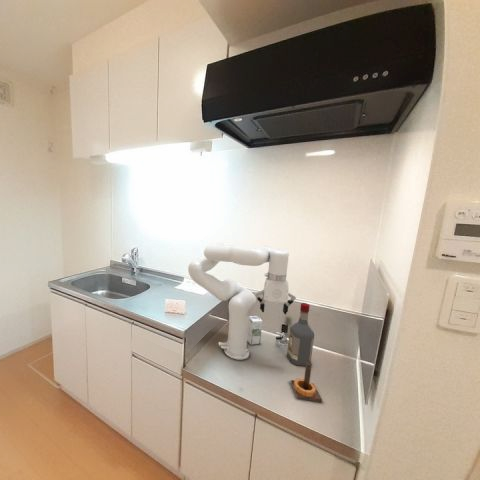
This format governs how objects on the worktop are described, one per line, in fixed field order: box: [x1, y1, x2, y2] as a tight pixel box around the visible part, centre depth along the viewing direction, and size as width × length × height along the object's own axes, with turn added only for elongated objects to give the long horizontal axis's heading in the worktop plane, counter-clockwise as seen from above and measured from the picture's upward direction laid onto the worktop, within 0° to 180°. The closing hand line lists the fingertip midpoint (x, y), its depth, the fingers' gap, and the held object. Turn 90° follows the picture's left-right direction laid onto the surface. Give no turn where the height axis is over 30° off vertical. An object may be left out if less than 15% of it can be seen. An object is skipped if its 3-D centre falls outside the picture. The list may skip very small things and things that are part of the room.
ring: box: [294, 378, 317, 397], centre depth 106 cm, size 8×8×2 cm
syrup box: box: [247, 315, 263, 346], centre depth 141 cm, size 6×6×14 cm
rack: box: [290, 362, 323, 403], centre depth 105 cm, size 9×9×14 cm
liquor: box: [286, 302, 315, 367], centre depth 124 cm, size 9×9×30 cm
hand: (273, 312), depth 117 cm, fingers open, 9 cm apart
